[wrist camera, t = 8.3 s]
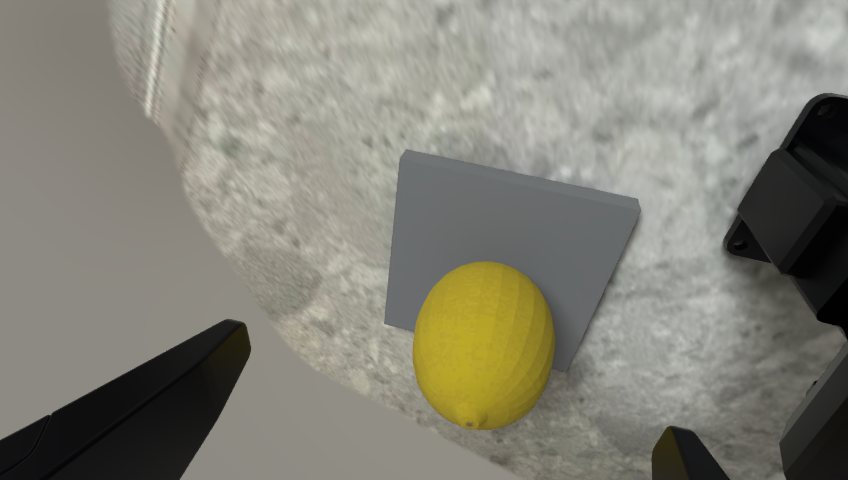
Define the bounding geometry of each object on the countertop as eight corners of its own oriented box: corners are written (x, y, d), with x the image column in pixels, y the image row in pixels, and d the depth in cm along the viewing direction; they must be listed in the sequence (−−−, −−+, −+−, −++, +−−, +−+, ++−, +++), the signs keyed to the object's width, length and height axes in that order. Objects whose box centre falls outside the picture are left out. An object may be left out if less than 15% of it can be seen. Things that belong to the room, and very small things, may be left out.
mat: (637, 198, 19) (641, 210, 18) (565, 358, 24) (566, 372, 24) (406, 149, 20) (399, 158, 19) (389, 311, 26) (384, 323, 25)
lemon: (497, 336, 23) (475, 489, 17) (414, 273, 22) (358, 410, 16) (581, 280, 20) (594, 441, 14) (490, 204, 19) (458, 339, 13)
